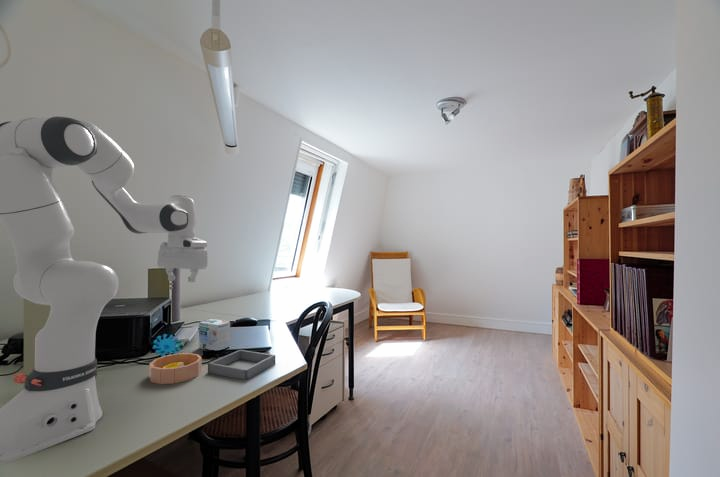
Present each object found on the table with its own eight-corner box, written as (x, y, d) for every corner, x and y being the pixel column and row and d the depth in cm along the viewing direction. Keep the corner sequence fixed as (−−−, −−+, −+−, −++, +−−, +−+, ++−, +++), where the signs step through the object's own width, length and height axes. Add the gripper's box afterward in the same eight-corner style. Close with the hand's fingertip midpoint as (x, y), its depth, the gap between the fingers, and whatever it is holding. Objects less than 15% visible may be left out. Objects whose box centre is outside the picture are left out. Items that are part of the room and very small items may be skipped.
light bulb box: (198, 348, 141) (198, 321, 141) (211, 344, 147) (211, 318, 147) (217, 352, 136) (217, 324, 136) (230, 347, 142) (230, 321, 142)
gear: (156, 357, 125) (151, 333, 130) (149, 366, 127) (145, 343, 133) (187, 354, 134) (181, 332, 139) (180, 362, 136) (175, 340, 141)
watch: (173, 360, 119) (187, 359, 117) (173, 368, 118) (188, 368, 117) (158, 366, 113) (174, 365, 111) (159, 375, 113) (175, 374, 111)
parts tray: (246, 379, 110) (246, 370, 110) (207, 372, 116) (207, 363, 116) (275, 363, 125) (275, 355, 125) (239, 357, 131) (240, 349, 131)
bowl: (173, 386, 105) (173, 371, 105) (139, 379, 110) (139, 364, 110) (210, 369, 118) (210, 356, 118) (178, 363, 124) (178, 351, 124)
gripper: (152, 241, 125) (152, 280, 125) (196, 242, 118) (196, 283, 118) (168, 241, 131) (167, 278, 131) (210, 242, 123) (210, 281, 123)
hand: (181, 281), depth 124 cm, fingers open, 8 cm apart
